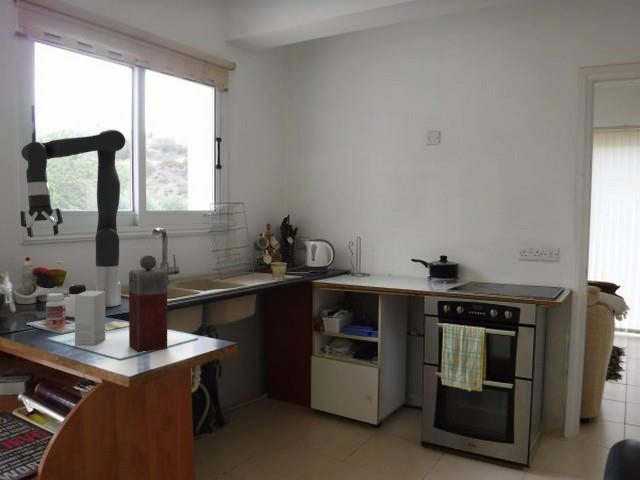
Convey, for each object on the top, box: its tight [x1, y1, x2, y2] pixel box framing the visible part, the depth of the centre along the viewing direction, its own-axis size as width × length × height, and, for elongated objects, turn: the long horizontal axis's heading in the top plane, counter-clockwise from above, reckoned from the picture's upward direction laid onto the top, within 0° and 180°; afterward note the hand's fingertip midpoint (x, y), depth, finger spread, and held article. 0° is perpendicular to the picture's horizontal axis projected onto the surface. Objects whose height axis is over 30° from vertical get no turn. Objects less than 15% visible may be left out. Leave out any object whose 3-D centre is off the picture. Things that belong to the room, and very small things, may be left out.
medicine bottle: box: [63, 284, 87, 319], centre depth 202 cm, size 7×7×12 cm
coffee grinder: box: [128, 254, 168, 353], centre depth 158 cm, size 9×11×28 cm
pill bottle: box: [45, 292, 67, 327], centre depth 184 cm, size 6×6×11 cm
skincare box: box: [74, 290, 106, 346], centre depth 162 cm, size 8×7×16 cm
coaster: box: [105, 320, 129, 332], centre depth 185 cm, size 10×10×1 cm
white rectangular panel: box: [26, 319, 75, 335], centre depth 183 cm, size 11×22×1 cm, turn 57°
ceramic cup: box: [270, 261, 288, 280], centre depth 323 cm, size 13×10×10 cm
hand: (43, 236), depth 202 cm, fingers open, 8 cm apart
